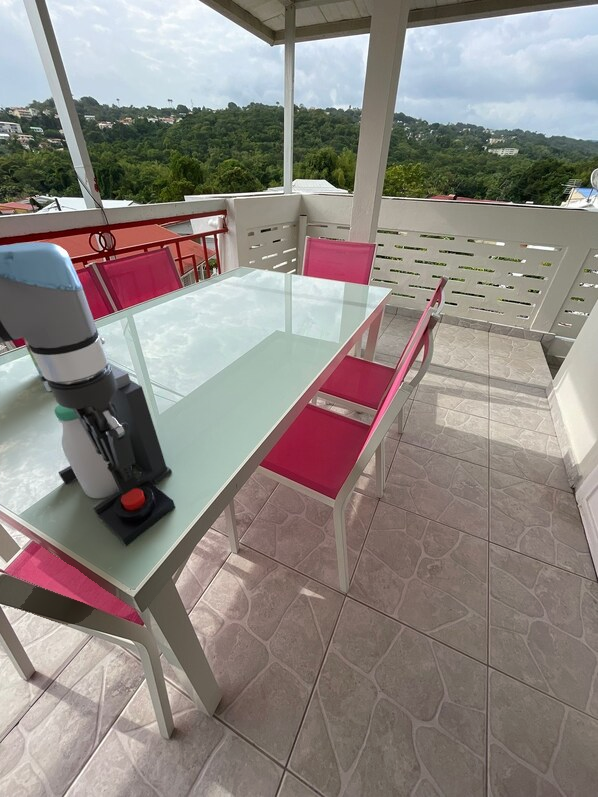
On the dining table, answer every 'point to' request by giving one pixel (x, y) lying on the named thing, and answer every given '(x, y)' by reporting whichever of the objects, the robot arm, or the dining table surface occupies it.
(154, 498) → the switch block
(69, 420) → the milk bottle
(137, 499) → the stop button
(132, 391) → the drink machine
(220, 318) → the dining table surface
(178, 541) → the dining table surface
